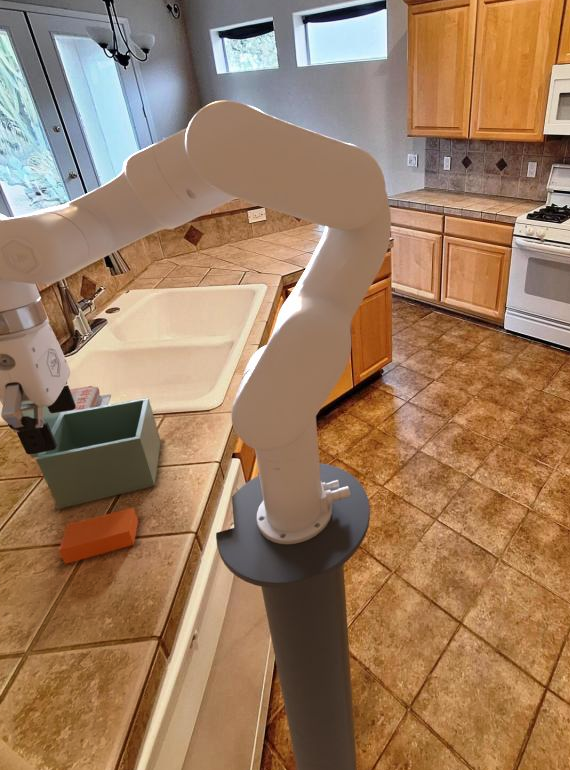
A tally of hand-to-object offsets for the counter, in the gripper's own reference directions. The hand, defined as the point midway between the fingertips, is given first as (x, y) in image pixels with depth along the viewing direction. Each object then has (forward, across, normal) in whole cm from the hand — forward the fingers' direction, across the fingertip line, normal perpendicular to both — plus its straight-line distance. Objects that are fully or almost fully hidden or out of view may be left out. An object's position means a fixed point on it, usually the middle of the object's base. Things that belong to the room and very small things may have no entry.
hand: (53, 429), depth 60 cm
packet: (+20, -3, -2) cm, 20 cm away
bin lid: (+1, +14, +7) cm, 16 cm away
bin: (+20, +14, 0) cm, 25 cm away
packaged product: (+20, +34, +10) cm, 41 cm away
